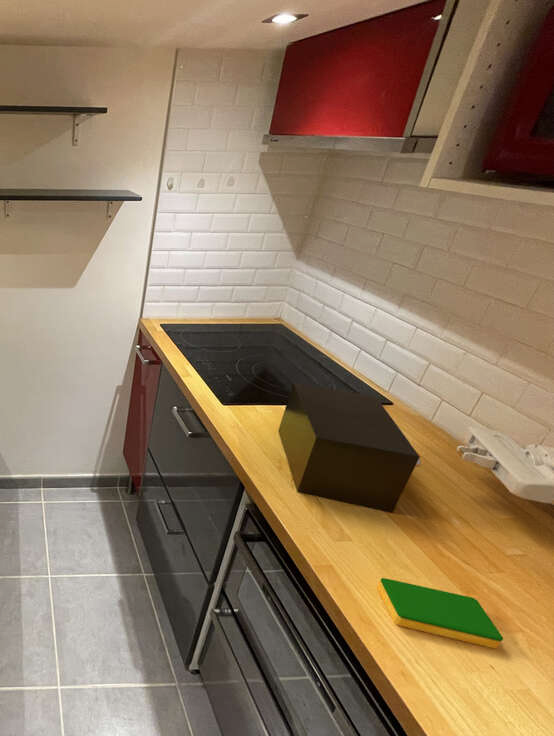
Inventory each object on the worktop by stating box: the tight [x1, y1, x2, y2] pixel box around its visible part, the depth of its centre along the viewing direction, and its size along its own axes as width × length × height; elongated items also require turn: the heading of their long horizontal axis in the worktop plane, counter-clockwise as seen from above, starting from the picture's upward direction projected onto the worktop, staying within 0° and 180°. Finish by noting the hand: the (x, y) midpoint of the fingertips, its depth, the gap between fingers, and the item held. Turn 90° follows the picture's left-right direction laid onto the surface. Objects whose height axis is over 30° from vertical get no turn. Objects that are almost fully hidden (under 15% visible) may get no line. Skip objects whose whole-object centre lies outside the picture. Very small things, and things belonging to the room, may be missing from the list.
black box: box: [278, 382, 422, 514], centre depth 104 cm, size 20×24×15 cm
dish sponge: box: [376, 577, 504, 649], centre depth 73 cm, size 7×14×2 cm, turn 74°
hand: (460, 452), depth 97 cm, fingers closed
